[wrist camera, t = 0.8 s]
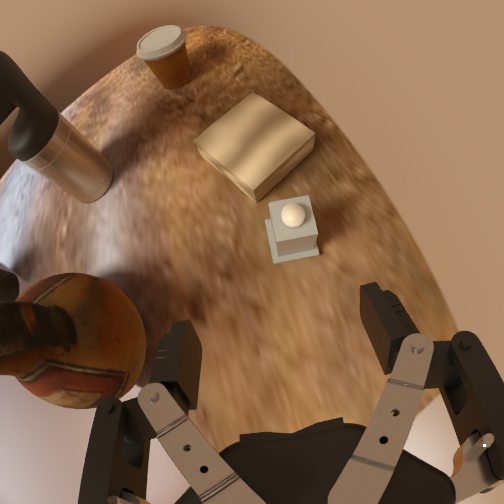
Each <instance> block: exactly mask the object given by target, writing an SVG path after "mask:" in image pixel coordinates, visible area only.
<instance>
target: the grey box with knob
mask: <svg viewBox="0 0 504 504" xmlns="http://www.w3.org/2000/svg"><path fill="white" fill-rule="evenodd" d="M268 205H269V211H270V218H271V219H267V220H265V223H266V228H267V233H268V238H269V243H270V248H271V253H272V258H273V263H274V265H278V264H283V263H288V262H293V261H298V260H303V259H308V258H313V257H317V256H319V251H318V246H317V242H316V239H317V236H318V230H317V226H316V222H315V218H314V215H313V211H312V207H311V203H310V199H309V195H307V196H301V197H296V198H291V199H285V200H280V201H275V202H270V203H268Z"/></svg>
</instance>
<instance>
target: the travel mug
mask: <svg viewBox="0 0 504 504" xmlns="http://www.w3.org/2000/svg"><path fill="white" fill-rule="evenodd" d="M18 294H19V281H18V278H17V276H16V275H15V274H14V273H11V272H8V271H5V270H2V269H0V303H10V302H15V300H16V299H17V298H18Z"/></svg>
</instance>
